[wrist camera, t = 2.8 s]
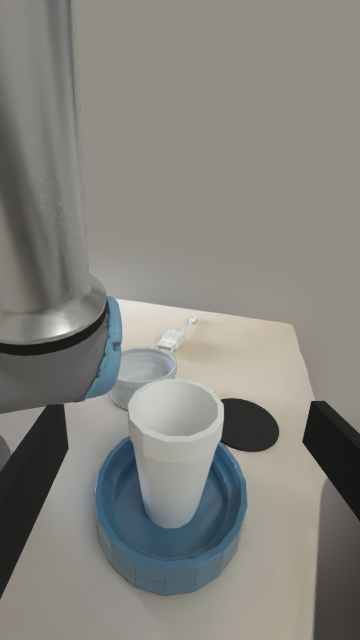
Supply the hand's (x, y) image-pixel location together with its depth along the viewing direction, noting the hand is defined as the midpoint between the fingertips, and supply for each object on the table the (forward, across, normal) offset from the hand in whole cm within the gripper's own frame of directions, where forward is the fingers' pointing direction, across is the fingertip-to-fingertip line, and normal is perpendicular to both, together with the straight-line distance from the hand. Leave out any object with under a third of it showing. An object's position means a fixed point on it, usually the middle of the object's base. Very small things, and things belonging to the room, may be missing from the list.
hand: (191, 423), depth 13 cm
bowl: (+10, 0, -19) cm, 22 cm away
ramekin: (+31, -5, -19) cm, 36 cm away
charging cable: (+61, +5, -18) cm, 64 cm away
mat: (+23, +12, -19) cm, 32 cm away
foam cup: (+10, 0, -19) cm, 22 cm away
